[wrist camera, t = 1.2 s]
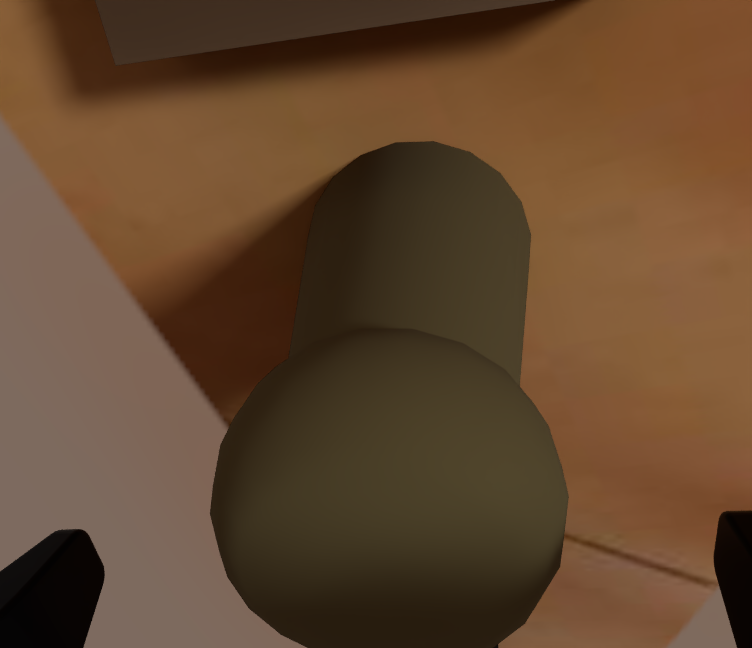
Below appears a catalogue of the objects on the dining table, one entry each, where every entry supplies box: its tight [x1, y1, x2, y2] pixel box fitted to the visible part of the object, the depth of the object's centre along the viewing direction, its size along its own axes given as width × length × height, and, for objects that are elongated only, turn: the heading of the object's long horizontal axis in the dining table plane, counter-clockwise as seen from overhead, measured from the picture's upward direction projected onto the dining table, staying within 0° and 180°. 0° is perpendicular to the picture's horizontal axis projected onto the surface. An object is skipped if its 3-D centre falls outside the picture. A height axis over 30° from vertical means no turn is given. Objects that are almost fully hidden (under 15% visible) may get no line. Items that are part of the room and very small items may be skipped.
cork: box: [210, 141, 569, 648], centre depth 13 cm, size 6×6×11 cm
